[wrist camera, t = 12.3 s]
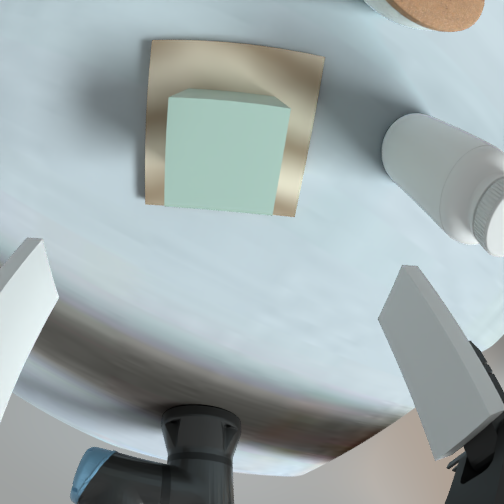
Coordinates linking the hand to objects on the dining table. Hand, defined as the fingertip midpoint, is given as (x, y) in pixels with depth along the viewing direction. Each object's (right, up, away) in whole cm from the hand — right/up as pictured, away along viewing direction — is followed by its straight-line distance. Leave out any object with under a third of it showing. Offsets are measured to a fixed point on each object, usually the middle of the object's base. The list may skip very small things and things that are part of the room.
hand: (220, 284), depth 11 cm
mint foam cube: (-1, +11, +14) cm, 18 cm away
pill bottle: (+17, +11, +17) cm, 26 cm away
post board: (-1, +12, +15) cm, 19 cm away
